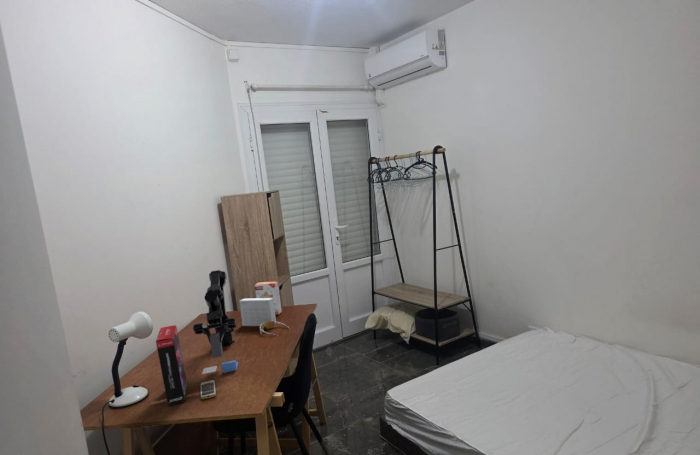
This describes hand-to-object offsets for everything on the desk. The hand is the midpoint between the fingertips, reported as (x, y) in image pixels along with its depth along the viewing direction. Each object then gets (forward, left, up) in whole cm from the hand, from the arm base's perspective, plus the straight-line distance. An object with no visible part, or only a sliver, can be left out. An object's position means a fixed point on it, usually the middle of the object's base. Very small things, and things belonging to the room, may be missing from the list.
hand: (215, 342), depth 183 cm
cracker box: (-35, +70, -14) cm, 80 cm away
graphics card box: (0, -22, -14) cm, 26 cm away
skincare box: (-28, +53, -14) cm, 61 cm away
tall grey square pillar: (-1, +1, -7) cm, 7 cm away
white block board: (-1, +1, -13) cm, 13 cm away
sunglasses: (-10, +47, -14) cm, 50 cm away
